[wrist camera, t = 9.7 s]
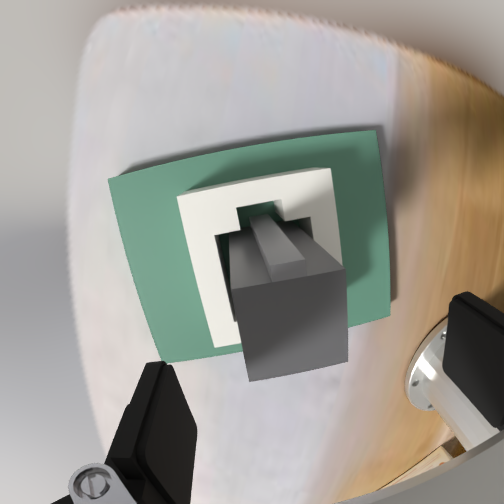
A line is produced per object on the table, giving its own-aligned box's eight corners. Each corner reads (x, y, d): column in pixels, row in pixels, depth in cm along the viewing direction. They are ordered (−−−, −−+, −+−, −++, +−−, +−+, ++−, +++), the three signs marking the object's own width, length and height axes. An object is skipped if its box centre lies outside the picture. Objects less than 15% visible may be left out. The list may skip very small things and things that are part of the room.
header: (313, 167, 19) (330, 168, 16) (329, 297, 22) (346, 319, 19) (185, 191, 19) (176, 196, 16) (215, 321, 22) (214, 347, 18)
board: (366, 131, 20) (375, 129, 19) (382, 307, 24) (390, 315, 23) (115, 177, 20) (107, 179, 19) (165, 353, 24) (162, 363, 22)
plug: (289, 210, 20) (344, 252, 10) (297, 277, 21) (348, 361, 12) (227, 220, 20) (227, 272, 10) (238, 287, 21) (249, 381, 12)
